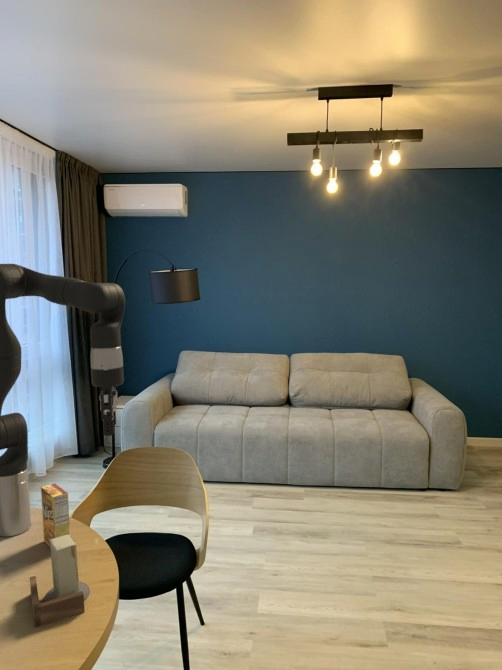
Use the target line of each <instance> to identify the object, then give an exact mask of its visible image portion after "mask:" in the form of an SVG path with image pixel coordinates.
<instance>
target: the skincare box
mask: <svg viewBox="0 0 502 670" xmlns="http://www.w3.org/2000/svg"><path fill="white" fill-rule="evenodd" d="M50 546H51V548H50V555H51V556H50V559H51V571H52V573H51V574H52V583H53V585H52V586H53V587H52V588H54V592H55V595H56V597H57V598H60V597H64V596H67V595H71V594H74V593H78V592H80V591H79V582H80V581H79V579H80V578H79V567H78V566H79V565H78V553H77V543H76V541H75V540H74V539H73V537H72V536H71V534H70V535H69V534H67V535H64V536H61V537H57V538H54V539H51V540H50Z"/></svg>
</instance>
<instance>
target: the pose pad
mask: <svg viewBox="0 0 502 670" xmlns="http://www.w3.org/2000/svg"><path fill="white" fill-rule="evenodd" d="M79 591H80V592H81V591H83V594H84V601H85V600H87V599H88V597H89V595H90V592H91V590H90V586H89V585H88V584H87V583H86V582H83V581H79ZM54 599H57V597H56V595H55V592H54V587H52V588H51V589H50V590H48V591H47V592H46V593H45V595H44V598H43V602H47V601H50V600H54Z"/></svg>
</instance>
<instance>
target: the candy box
mask: <svg viewBox="0 0 502 670" xmlns="http://www.w3.org/2000/svg"><path fill="white" fill-rule="evenodd" d="M40 494H41V509H42V510H41V511H42V512H41V513H42V529H43V531H42V532H43V541H44V543H45V544H46V545H47V546H48V547H49V548H50V549H51V546H50V540H51V539H54V538H57V537H61V536H64V535H67V534H69V535H70V536H71V534H70V533H71V531H70V514H69V513H70V510H69V509H70V508H69V493H68V491H66V490H64V489H63V488H62V487H60V486H59V485H58V484H56V483H51V484H47V485H44V486H41V487H40Z"/></svg>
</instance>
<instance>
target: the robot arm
mask: <svg viewBox="0 0 502 670" xmlns="http://www.w3.org/2000/svg"><path fill="white" fill-rule="evenodd" d="M20 297H21V298H22V297H41V298H43V299H45V300H46V301H48V302H50V303H52V304H56V305H62V306H65V307H66V306H67V307H72V308H76V309H79V310H81V311H84V312H87V313H94V314H100V315H99V318H98V321H97V322H95V323H93V324H92V325H91V327H90V329H89V331H90V335H89V337H90V373H91V374H90V377H91V385H92V386H93V387H97V388H101V389H102V390H101V391H100V393H99V395H98V396H99V397H98V398H99V401H100V404H99V405H100V406H99V407H100V408H99V409H100V413H101V415H100V419H101V421H102V423H103V425H102V426H103V436H104V437H108V436H109V437H110V436H113V435H114V434H115V433H114V432H115V431H114V430H115V429H114V426H116V425H117V412H116V411H117V408H118V407H117V405H118V390H116V388H117V387H118V386H120V385H123V384H124V381H125V378H124V377H125V376H124V358H123V357H124V356H123V351H122V341H121V340H122V338H121V337H122V336H121V335H122V334H121V329H122V328H121V327H122V323H123V319H124V313H125V307H126V297H125V292H124V291H123V289H122V288H121V286H120V285H119V284H117V283H115V282H114V283H113V282H89V281H88V282H87V281H84V280H82V279H79V278H75V277H68V276H67V277H66V276H62V275H60V276H59V275H52V274H46V273H42V272H38V271H36V270H33V269H30V268H28V267H26V266H22V265H20V264H16V263H0V451H1V450H5V449H6V450H5V452H3V454H1V455H0V537H12V536H17V535H20V534H22V533H23V534H24V533H25V532H26V531H28V530H29V529H30V528H31V527H32V518H31V516H32V515H31V503H30V502H31V501H30V491H29V490H30V488H29V475H28V459H29V433H28V431H29V430H28V424H27V421H26V419H25V417H24V415H22V413H20V412H11V413H8V414H7V413H5V414H2V410H3V406H4V402H5V400H6V398H7V396H8V395H9V393H10V392H11V390H12V388H13V386H14V385H15V383H16V382H17V380H18V378H19V377H20V375H21V371H22V346H21V343H20V341H19V339H18V337H17V336H16V334H15V332H14V331H13V329H12V327H11V326H10V324H9V321H8V320H7V313H6V300H11V299H18V298H20Z"/></svg>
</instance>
